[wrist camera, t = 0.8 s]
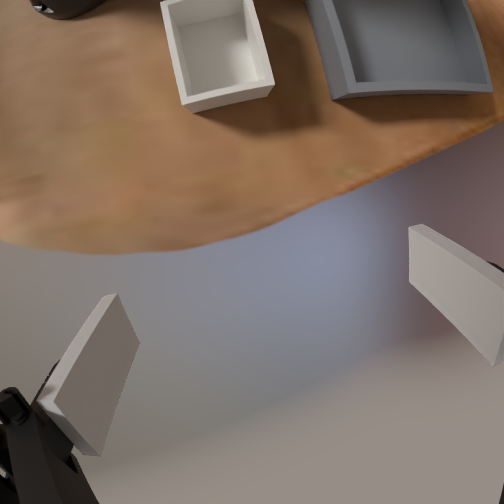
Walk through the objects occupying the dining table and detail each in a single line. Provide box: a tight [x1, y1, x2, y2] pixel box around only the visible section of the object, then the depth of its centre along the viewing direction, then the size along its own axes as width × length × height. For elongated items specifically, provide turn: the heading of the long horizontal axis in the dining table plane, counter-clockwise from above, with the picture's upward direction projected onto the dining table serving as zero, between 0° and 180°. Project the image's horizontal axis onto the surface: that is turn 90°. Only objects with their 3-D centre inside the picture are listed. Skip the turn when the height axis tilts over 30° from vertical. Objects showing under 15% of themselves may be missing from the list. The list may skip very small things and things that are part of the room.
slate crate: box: [304, 0, 494, 100], centre depth 25 cm, size 17×21×6 cm
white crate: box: [160, 0, 275, 113], centre depth 25 cm, size 11×8×7 cm
